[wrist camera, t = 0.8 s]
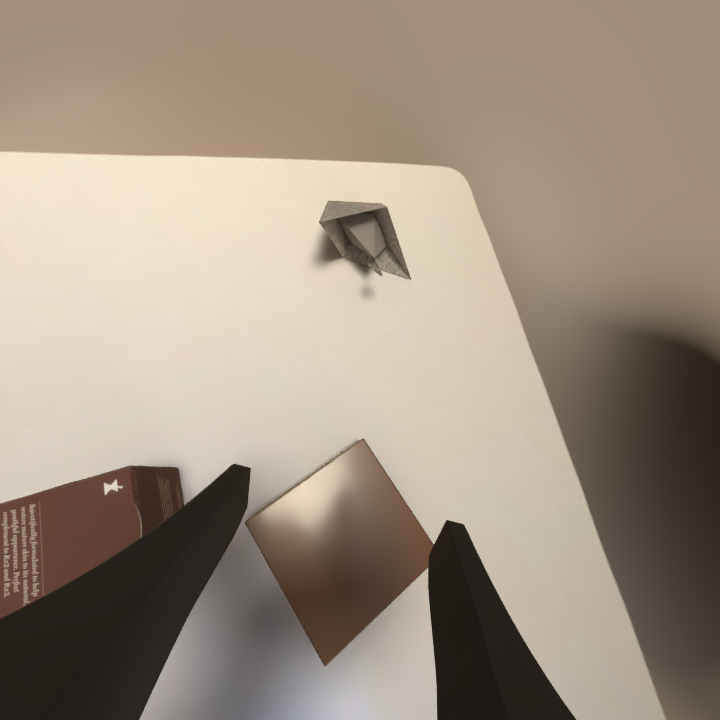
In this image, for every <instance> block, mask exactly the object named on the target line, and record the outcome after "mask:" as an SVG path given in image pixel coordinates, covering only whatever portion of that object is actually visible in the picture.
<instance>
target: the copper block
mask: <svg viewBox="0 0 720 720" xmlns="http://www.w3.org/2000/svg"><path fill="white" fill-rule="evenodd" d="M245 524H246V526H247V527H248V529H249V531H250V533H251V535H252V536H253V538H254V540H255V542H256V544H257V545H258V547H259V549H260V551H261V553H262V554H263V556H264V558H265V560H266V562H267V563H268V565H269V567H270V569H271V571H272V572H273V574H274V576H275V578H276V580H277V581H278V583H279V585H280V587H281V589H282V590H283V592H284V594H285V596H286V598H287V599H288V601H289V603H290V605H291V607H292V608H293V610H294V612H295V614H296V616H297V617H298V619H299V621H300V623H301V625H302V626H303V628H304V630H305V632H306V634H307V635H308V637H309V639H310V641H311V643H312V644H313V646H314V648H315V650H316V652H317V653H318V655H319V657H320V659H321V661H322V662H323V664H324V666H326V665H327V664H328V663H329V662H330V661H332V660H333V659H334V658H335V657H336V656H337V655H338V654H339V653H340V652H341V651H342V650H343V649H344V648H345V647H346V646H347V645H348V644H349V643H350V642H351V641H352V640H353V639H354V638H355V637H356V636H357V635H358V634H359V633H360V632H362V631H363V630H364V629H365V628H366V627H367V626H368V625H369V624H370V623H371V622H372V621H373V620H374V619H375V618H376V617H377V616H378V615H379V614H380V613H381V612H382V611H383V610H384V609H385V608H386V607H387V606H388V605H389V604H391V603H392V602H393V601H394V600H395V599H396V598H397V597H398V596H399V595H400V594H401V593H402V592H403V591H404V590H405V589H406V588H407V587H408V586H409V585H410V584H411V583H412V582H413V581H414V580H415V579H416V578H417V577H418V576H419V575H421V574H422V573H423V572H424V571H425V570H426V569H427V568H428V567H429V554H430V552H431V550H432V548H433V546H434V544H433V543H432V541H431V540H430V538H429V537H428V535H427V534H426V532H425V531H424V529H423V528H422V526H421V525H420V523H419V522H418V520H417V519H416V517H415V516H414V514H413V513H412V511H411V510H410V508H409V507H408V505H407V504H406V502H405V501H404V499H403V498H402V496H401V494H400V493H399V491H398V490H397V488H396V487H395V485H394V484H393V482H392V481H391V479H390V478H389V476H388V475H387V473H386V472H385V470H384V469H383V467H382V466H381V464H380V463H379V461H378V460H377V458H376V457H375V455H374V454H373V452H372V451H371V449H370V448H369V446H368V444H367V443H366V441H365V440H364V439H361V440H359V441H358V442H356V443H355V444H353V445H352V446H350V447H349V448H348V449H346V450H345V451H343V452H342V453H341V454H339V455H338V456H336V457H335V458H334V459H332V460H331V461H329V462H328V463H326V464H325V465H324V466H322V467H321V468H319V469H318V470H317V471H315V472H314V473H312V474H311V475H310V476H308V477H307V478H305V479H304V480H302V481H301V482H300V483H298V484H297V485H295V486H294V487H293V488H291V489H290V490H288V491H287V492H286V493H284V494H283V495H281V496H280V497H278V498H277V499H276V500H274V501H273V502H271V503H270V504H269V505H267V506H266V507H264V508H263V509H262V510H260V511H259V512H257V513H256V514H254V515H253V516H252V517H250V518H249V519H248V520H247V521H246V522H245Z"/></svg>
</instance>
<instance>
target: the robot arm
mask: <svg viewBox="0 0 720 720" xmlns="http://www.w3.org/2000/svg"><path fill="white" fill-rule="evenodd" d="M250 471H251V468H248V467H244V466H241V465H237V464H233V465H231V466H230V467H229V468H228V469H227V470H226V471H225V472H224V473H222V474H221V475H220V476H219V477H218V478H217V479H216V480H215V481H213V482H212V483H211V484H210V485H209V486H208V487H206V488H205V489H204V490H203V491H202V492H200V493H199V494H198V495H197V496H196V497H194V498H193V499H192V500H191V501H189V502H188V503H187V504H186V505H184V506H183V507H182V508H181V509H179V510H178V511H177V512H175V513H174V514H173V515H171V516H170V517H169V518H167V519H166V520H165V521H163V522H162V523H161V524H159V525H158V526H157V527H155V528H154V529H152V530H151V531H150V532H148V533H147V534H145V535H144V536H142V537H141V538H140V539H138V540H137V541H135V542H134V543H132V544H131V545H129V546H128V547H126V548H125V549H123V550H122V551H120V552H118V553H117V554H115V555H114V556H112V557H111V558H109V559H107V560H106V561H104V562H102V563H101V564H99V565H97V566H96V567H94V568H92V569H91V570H89V571H88V572H86V573H84V574H82V575H81V576H79V577H77V578H76V579H74V580H72V581H70V582H69V583H67V584H65V585H63V586H61V587H59V588H58V589H56V590H54V591H52V592H50V593H48V594H46V595H45V596H43V597H41V598H39V599H37V600H35V601H33V602H31V603H30V604H28V605H26V606H24V607H22V608H20V609H18V610H16V611H14V612H12V613H10V614H8V615H6V616H4V617H2V618H0V720H139V719H140V717H141V714H142V712H143V710H144V708H145V706H146V703H147V701H148V699H149V697H150V695H151V693H152V690H153V688H154V686H155V684H156V682H157V680H158V678H159V676H160V673H161V671H162V669H163V667H164V665H165V663H166V661H167V659H168V656H169V654H170V652H171V650H172V648H173V646H174V644H175V642H176V640H177V638H178V636H179V634H180V632H181V630H182V627H183V625H184V623H185V621H186V619H187V617H188V616H189V614H190V612H191V610H192V608H193V606H194V604H195V603H196V601H197V599H198V597H199V596H200V594H201V592H202V591H203V589H204V587H205V585H206V584H207V582H208V580H209V579H210V577H211V575H212V573H213V572H214V570H215V568H216V567H217V565H218V563H219V561H220V560H221V558H222V556H223V554H224V553H225V551H226V549H227V548H228V546H229V544H230V542H231V541H232V539H233V537H234V535H235V533H236V531H237V529H238V527H239V524H240V522H241V520H242V518H243V515H244V513H245V511H246V509H247V504H248V493H249V482H250ZM428 590H429V602H430V613H431V624H432V635H433V645H434V656H435V667H436V682H437V720H576V719H575V717H574V716H573V715H572V713H571V712H570V710H569V709H568V708H567V706H566V705H565V703H564V702H563V701H562V699H561V698H560V696H559V695H558V693H557V692H556V690H555V689H554V687H553V686H552V684H551V683H550V681H549V680H548V678H547V677H546V675H545V674H544V672H543V671H542V669H541V667H540V666H539V664H538V663H537V661H536V660H535V658H534V656H533V655H532V653H531V651H530V650H529V648H528V647H527V645H526V643H525V642H524V640H523V638H522V636H521V635H520V633H519V631H518V630H517V628H516V626H515V624H514V623H513V621H512V619H511V617H510V616H509V614H508V612H507V610H506V608H505V606H504V605H503V603H502V601H501V599H500V597H499V595H498V593H497V591H496V589H495V587H494V585H493V584H492V582H491V580H490V578H489V576H488V574H487V572H486V570H485V568H484V566H483V564H482V562H481V559H480V557H479V555H478V553H477V551H476V549H475V547H474V545H473V543H472V541H471V538H470V536H469V534H468V532H467V530H466V528H465V526H464V524H460V523H456V522H452V521H449V520H446V522H445V524H444V526H443V528H442V530H441V532H440V534H439V536H438V538H437V540H436V542H435V544H434V546H433V548H432V550H431V552H430V554H429V569H428Z"/></svg>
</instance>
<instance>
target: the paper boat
mask: <svg viewBox="0 0 720 720" xmlns="http://www.w3.org/2000/svg"><path fill="white" fill-rule="evenodd" d="M319 223H320V224H321V226H322V227H323V228H324V230H325V231H326V233H327V234H328V236H329V237H330V239H331V240H332V242H333V243H334V244H335V246H336V247H337V249H338V250H339V252H340V253H341V255H342V256H343V257H344V258H346V259H349V260H352V261H356V262H359V263H362V264H365V265H368V266H370V267H371V268H372V269H373V270H374V271H375V272H377V273H378V274H379V275H380V276H382V273H381V271H380V270H383V271H386V272H389V273H392V274H395V275H398V276H401V277H404V278H407V279H410V280H411V278H410V275H409V272H408V269H407V266H406V263H405V260H404V257H403V254H402V251H401V248H400V245H399V242H398V239H397V236H396V233H395V230H394V227H393V224H392V221H391V218H390V215H389V212H388V209H387V207H386V206H385V205H383V204H381V203H362V202H344V201H328V203H327V205H326V207H325V210H324V212H323V214H322V217H321V219H320V221H319Z"/></svg>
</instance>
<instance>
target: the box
mask: <svg viewBox="0 0 720 720" xmlns="http://www.w3.org/2000/svg"><path fill="white" fill-rule="evenodd" d="M182 507H183V500H182V494H181V488H180V482H179V476H178V469H177V468H175V467H149V466H132V465H131V466H127V467H124V468H120V469H117V470H114V471H111V472H107V473H103V474H100V475H97V476H94V477H90V478H87V479H83V480H79V481H75V482H71V483H68V484H64V485H61V486H58V487H55V488H52V489H48V490H45V491H42V492H38V493H35V494H32V495H28V496H25V497H22V498H18V499H15V500H11V501H7V502H4V503H0V618H2V617H4V616H6V615H8V614H10V613H12V612H14V611H16V610H18V609H20V608H22V607H24V606H26V605H28V604H30V603H31V602H33V601H35V600H37V599H39V598H41V597H43V596H45V595H46V594H48V593H50V592H52V591H54V590H56V589H58V588H59V587H61V586H63V585H65V584H67V583H69V582H70V581H72V580H74V579H76V578H77V577H79V576H81V575H82V574H84V573H86V572H88V571H89V570H91V569H92V568H94V567H96V566H97V565H99V564H101V563H102V562H104V561H106V560H107V559H109V558H111V557H112V556H114V555H115V554H117V553H118V552H120V551H122V550H123V549H125V548H126V547H128V546H129V545H131V544H132V543H134V542H135V541H137V540H138V539H140V538H141V537H142V536H144V535H145V534H147V533H148V532H150V531H151V530H152V529H154V528H155V527H157V526H158V525H159V524H161V523H162V522H163V521H165V520H166V519H167V518H169V517H170V516H171V515H173V514H174V513H175V512H177V511H178V510H179V509H181V508H182Z"/></svg>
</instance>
